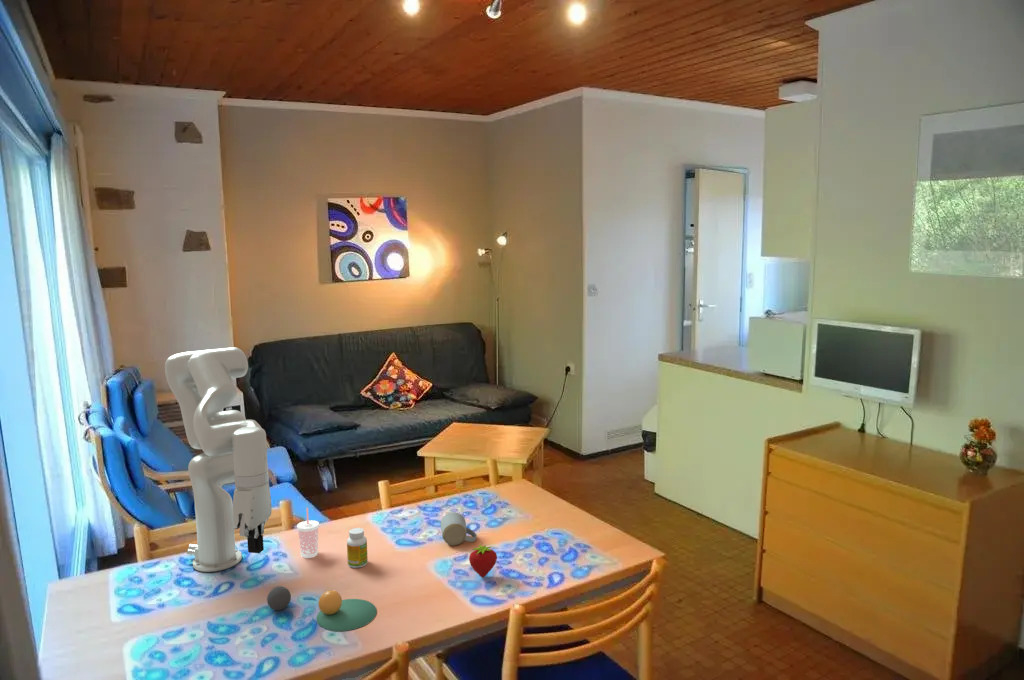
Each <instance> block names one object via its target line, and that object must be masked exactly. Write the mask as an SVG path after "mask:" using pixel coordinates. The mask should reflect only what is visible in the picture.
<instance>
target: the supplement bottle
mask: <svg viewBox="0 0 1024 680" xmlns="http://www.w3.org/2000/svg"><path fill="white" fill-rule="evenodd" d="M348 536H349V537H348V538H347V539H346V546H347V547H346V550H347V551H346V552H347V556H346V557H347V565H348V567H349V568H351V569H359V568H362V567H365V566H366V565H367V564H368V539H367V537H366V536H365V529H363V528H362V527H354V528H351V529H350V530H349V531H348Z"/></svg>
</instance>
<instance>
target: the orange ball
mask: <svg viewBox="0 0 1024 680" xmlns="http://www.w3.org/2000/svg"><path fill="white" fill-rule="evenodd" d="M342 600H343V599H342V596H341V594H340V593H339V592H338V591H337V590H332V589H331V590H326V591H325V592H322V594H321V595H320V596H319V599H318V609H319V611H320V610H321V612H323V613H324V614H327V615H332V614H334V613H336V612H337V611H338V610H339V609H340V608H341V605H342Z"/></svg>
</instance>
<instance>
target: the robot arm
mask: <svg viewBox="0 0 1024 680" xmlns="http://www.w3.org/2000/svg"><path fill="white" fill-rule="evenodd" d="M248 361H249V360H248V359H247V356H246V354H245V353H244V351H243V350H242V349H240V348H238V347H236V346H234V347H233V346H232V347H222V348H221V347H220V348H213V349H211V348H210V349H202V350H191V351H184V352H179V353H175V354H173V355H170V356H169V357H168V358H167V359H166V361H165V363H164V372H165V373H164V374H165V377H166V378H165V379H166V382H167V384H168V387H169V389H170V390H171V392H172V394H173V396H174V397H175V399H176V401H177V403H178V405H179V408H180V412H181V418H182V421H183V426H184V430H185V434H186V438H187V442H188V444H189V446H190V447H191V448H192V449H195V450H202V451H203V453H200V454H197V455H195V456H193V457H192V458H191V460H190V461H189V462H188V467H187V469H188V474H189V475H188V476H189V480H190V483H191V488H192V493H193V499H194V511H195V525H196V541H197V543H196V544H195V543H190V544H189V545H188V548H187V550H186V554H187V555H194V559H193V560H192V567H193V569H195V570H197V571H198V572H204V573H210V572H211V573H212V572H219V571H224V570H226V569H230V568H232V567H234V566H236V565H237V564H239V563H240V562H241V560H242V559H243V558H242V557H243V555H242V554H243V553H242V551H240V550H239V549H237V548H236V541H235V540H236V538H235V537H236V536H235V530H239V536H240V537H245V538H247V539H246V540H247V552H248V553H252V554H261V553H262V552H263V551H264V550H265V548H264V534H265V525H266V523H267V522H268V520H269V518H270V517H271V515H272V510H273V509H272V496H271V495H272V494H271V489H270V481H269V479H270V478H269V468H268V466H269V465H268V448H267V447H268V446H267V433H266V430H265V429H264V428H262V426H261V425H260V424H259V423H258V422H257V421H256V420H255V419H246V416H245V415H244V414H243V413H242V411H240V410H237V409H231V410H224V409H225V408H227V407H229V406H230V405H231V404H233V402H234V401H235V399H237V398H236V397H237V395H238V389H237V387H236V385H235V383H234V381H233V379H237V378H242V377H245V376H246V374H247V373H248V369H249V362H248ZM222 410H224V411H222ZM232 483H234V487H235V488H234V491H233V498H232V496H231V495H230V493H229V492H228V491H227V490H225V489H223V488H222V487H223V486H224V485H228V484H232Z"/></svg>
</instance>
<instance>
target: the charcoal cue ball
mask: <svg viewBox="0 0 1024 680" xmlns="http://www.w3.org/2000/svg"><path fill="white" fill-rule="evenodd" d="M291 600H292V595H291V591H290V590H289V589H288V587H285V586H282V585H279V586H275V587H273V588H272V589H270V591H269V592H268V594H267V596H266V604H267V605H268V607H269V608H270V609H271V610H274V611H282V610H284V609H285V608H287V607H288V605H289V604H290V603H291Z"/></svg>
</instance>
